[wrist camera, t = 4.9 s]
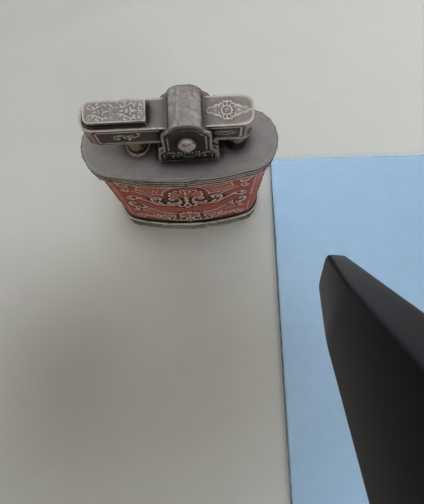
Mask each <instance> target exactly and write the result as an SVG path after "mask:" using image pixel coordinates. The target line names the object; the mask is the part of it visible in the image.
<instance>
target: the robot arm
mask: <svg viewBox="0 0 424 504" xmlns="http://www.w3.org/2000/svg"><path fill="white" fill-rule="evenodd" d="M319 293H320V300H321V308H322V315H323V322H324V330H325V337H326V343H327V347H328V351H329V355H330V358H331V362H332V366H333V370H334V373H335V377H336V381H337V385H338V388H339V392H340V396H341V400H342V403H343V407H344V411H345V415H346V418H347V422H348V426H349V430H350V433H351V437H352V441H353V445H354V448H355V452H356V456H357V460H358V463H359V467H360V471H361V474H362V478H363V482H364V486H365V489H366V493H367V497H368V501H369V504H424V313H423V312H422V311H421V310H419V309H418V308H417V307H415V306H414V305H412V304H411V303H410V302H408V301H407V300H405V299H404V298H403V297H401V296H400V295H399V294H397V293H396V292H394V291H393V290H392V289H390V288H389V287H387V286H386V285H385V284H383V283H382V282H381V281H379V280H378V279H376V278H375V277H374V276H372V275H371V274H369V273H368V272H367V271H365V270H364V269H363V268H361V267H360V266H358V265H357V264H356V263H354V262H353V261H351V260H350V259H349V258H347V257H346V256H343V255H328V256H327V257H326V259H325V262H324V266H323V270H322V273H321V277H320V281H319Z"/></svg>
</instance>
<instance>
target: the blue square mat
mask: <svg viewBox="0 0 424 504" xmlns="http://www.w3.org/2000/svg"><path fill="white" fill-rule="evenodd" d="M271 181H272V197H273V213H274V229H275V245H276V261H277V277H278V293H279V308H280V324H281V340H282V356H283V372H284V388H285V404H286V420H287V436H288V452H289V468H290V484H291V500H292V504H369V501H368V497H367V493H366V489H365V486H364V482H363V478H362V474H361V471H360V467H359V463H358V460H357V456H356V452H355V448H354V445H353V441H352V437H351V433H350V430H349V426H348V422H347V418H346V415H345V411H344V407H343V403H342V400H341V396H340V392H339V388H338V385H337V381H336V377H335V373H334V370H333V366H332V362H331V358H330V355H329V351H328V347H327V343H326V337H325V330H324V322H323V315H322V308H321V300H320V293H319V281H320V277H321V273H322V270H323V266H324V262H325V259H326V257H327V256H328V255H343V256H346V257H347V258H349V259H350V260H351V261H353V262H354V263H356V264H357V265H358V266H360V267H361V268H363V269H364V270H365V271H367V272H368V273H369V274H371V275H372V276H374V277H375V278H376V279H378V280H379V281H381V282H382V283H383V284H385V285H386V286H387V287H389V288H390V289H392V290H393V291H394V292H396V293H397V294H399V295H400V296H401V297H403V298H404V299H405V300H407V301H408V302H410V303H411V304H412V305H414V306H415V307H417V308H418V309H419V310H421V311H422V312H423V313H424V155H420V156H383V157H347V158H311V159H275V160H272V162H271Z"/></svg>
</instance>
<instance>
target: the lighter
mask: <svg viewBox="0 0 424 504" xmlns="http://www.w3.org/2000/svg"><path fill="white" fill-rule="evenodd" d="M79 126H80V127H81V129H82V130H83V131H84V134H83V136H82V141H81V154H82V158H83V160H84V162H85V164H86V165H87V167H88V168H89V169H90V170H91V172H92V173H93V174H94V175H95V176H96V177H98V178H99V179H100V180H103V181H105V182H106V184H107V185H108V186H109V188H110V189H111V190H112V191H113V193H114V194H115V195H116V197H117V198H118V199H119V200H120V202H121V203H122V207H123V209H124V211H125V213H126V214H127V216H128V217H129V218H130V219H131V220H132V221H133V222H134V223H137V224H140V225H146V226H154V227H161V228H187V229H193V228H201V227H210V226H218V225H223V224H227V223H231V222H235V221H239V220H243V219H245V218H247V217H249V216H250V215H251V214H252V213H253V212H254V209H255V207H256V204H257V202H258V190H259V187H260V184H261V181H262V178H263V175H264V172H265V170H266V169H267V168H268V167H269V166H270V165H271V162H272V160H273V158H274V156H275V153H276V150H277V147H278V134H277V131H276V127H275V125H274V124H273V122H272V121H271V119H270V118H269V117H267V116H266V115H265V114H264V113H262V112H259V111H256V110H254V103H253V100H252V99H251V98H250V97H249V96H247V95H243V94H232V95H211V96H209V94H208V93H206V92H203V91H202V90H201V89H200V88H198V87H197V86H194V85H190V84H188V85H175V86H173V87H170V88H169V89H168V90H167V92H166V93H165V94H163V95H161V96H160V98H148V99H127V100H106V101H91V102H87V103H85V104H83V105H82V106H81V108H80V111H79Z"/></svg>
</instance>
